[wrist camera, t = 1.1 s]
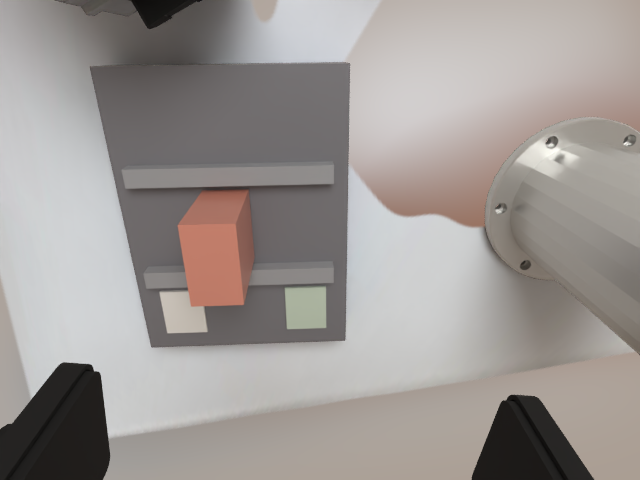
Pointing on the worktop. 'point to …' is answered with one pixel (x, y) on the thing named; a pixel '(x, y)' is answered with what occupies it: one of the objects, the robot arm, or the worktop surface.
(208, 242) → the handle
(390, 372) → the worktop surface
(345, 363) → the worktop surface
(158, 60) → the worktop surface
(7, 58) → the worktop surface
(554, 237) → the robot arm
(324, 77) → the breaker panel
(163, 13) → the circuit breaker
